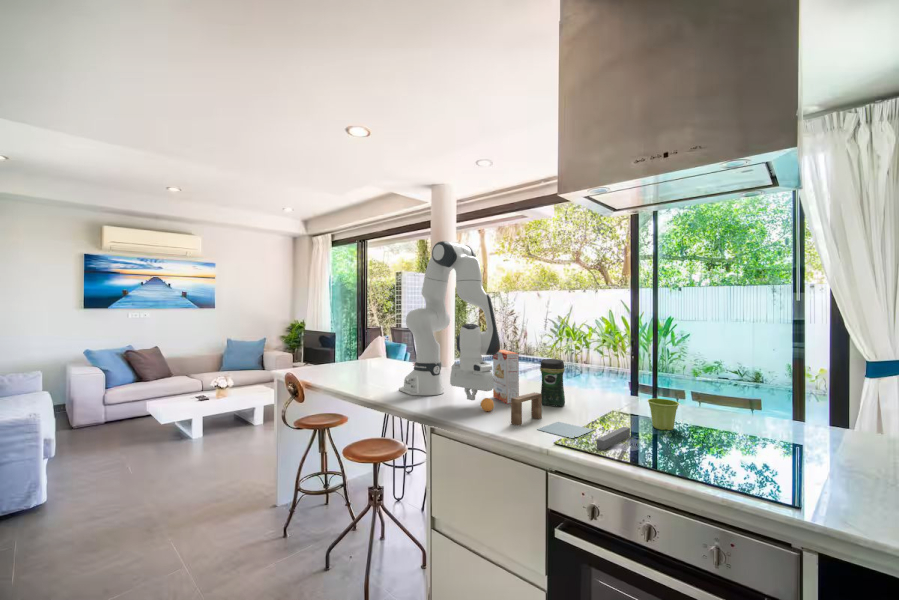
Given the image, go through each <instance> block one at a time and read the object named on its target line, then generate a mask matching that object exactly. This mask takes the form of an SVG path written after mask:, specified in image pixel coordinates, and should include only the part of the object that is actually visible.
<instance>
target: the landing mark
mask: <svg viewBox="0 0 899 600" xmlns="http://www.w3.org/2000/svg"><path fill="white" fill-rule="evenodd" d="M536 430H537V431H539V432H543V433H548V434H552V435H556V436H559V437H562V438H567V437H569V438H568V439H571V438H574V436H575V437H578V438H579V436H580V437H582V436H584V434H585V435H586V433H587V434H589V433H591V432H594V431H595V429H592V428H589V427H588V428H587V427H583V426H579V425H574V424H570V423H567V422H566V423H565V422H561V421H556V422H553V423H551V424H548V425H545V426H542V427H539V428H536ZM581 435H582V436H581Z"/></svg>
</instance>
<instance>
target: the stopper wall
mask: <svg viewBox="0 0 899 600" xmlns="http://www.w3.org/2000/svg"><path fill="white" fill-rule="evenodd" d="M630 436H631V428H630V427H627V426H622V427H620V428H618V429H616V430H613V431H611V432H609V433H606V434H605V435H603V436H600V437H599V438H597V439H596V449H599V450H603V451H604V450H607V449H608V448H611V447H613V446H615V445H616V444H618V443H620V442H621V441H623V440H626V439H628V438H629V437H630Z"/></svg>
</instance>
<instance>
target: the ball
mask: <svg viewBox="0 0 899 600" xmlns="http://www.w3.org/2000/svg"><path fill="white" fill-rule="evenodd" d="M480 407H481V409H482V410H483V411H484V412H487V411H488V412H491V411H492V410H493V409H494V408H495V403H494V400H493V399H492V398H489V397H486V398H483V399H482V400H481V402H480Z"/></svg>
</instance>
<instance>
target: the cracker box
mask: <svg viewBox="0 0 899 600" xmlns="http://www.w3.org/2000/svg"><path fill="white" fill-rule="evenodd" d="M519 357H520V355H519V352H514V351H510V350H507V349H500V350H499V351H498V352H497V353H496V354H495V355H492V371H493V372H492V374H493V383H494V386H493V389H492V391H493V393H492V394H493V395H492V396H493V398H495V399H496V400H499V401H500V400H501V402H502V401H503V402H502V403H504V404H506V405H511V398H514V397H518V396H520V395H519V394H520V392H519V391H520V389H519V387H520V384H519V383H520V381H519V380H520V379H519V378H520V376H519V375H520V373H519V369H520V368H519V367H520V366H519V364H520V363H519V361H520V359H519Z"/></svg>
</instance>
